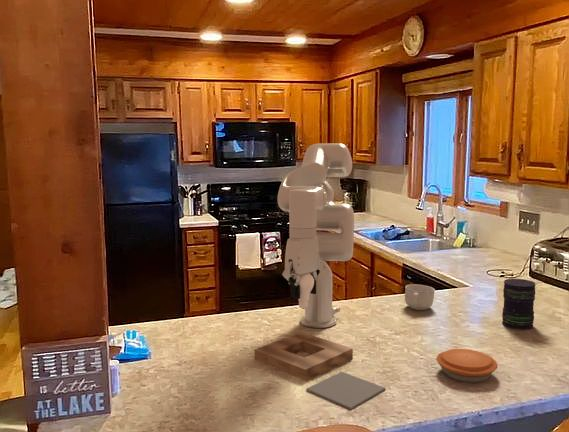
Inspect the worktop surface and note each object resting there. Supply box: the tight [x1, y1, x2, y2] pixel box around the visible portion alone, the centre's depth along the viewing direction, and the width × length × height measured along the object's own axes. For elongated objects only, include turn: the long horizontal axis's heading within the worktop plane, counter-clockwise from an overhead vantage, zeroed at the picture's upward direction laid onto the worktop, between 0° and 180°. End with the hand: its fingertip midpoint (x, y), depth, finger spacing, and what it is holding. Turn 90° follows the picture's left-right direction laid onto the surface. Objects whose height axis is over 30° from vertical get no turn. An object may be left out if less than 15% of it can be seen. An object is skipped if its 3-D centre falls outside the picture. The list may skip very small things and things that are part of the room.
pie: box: [436, 348, 499, 384], centre depth 140 cm, size 15×16×5 cm
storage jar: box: [501, 278, 536, 331], centre depth 177 cm, size 10×10×15 cm
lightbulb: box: [294, 273, 314, 310], centre depth 149 cm, size 6×6×11 cm
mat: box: [306, 371, 386, 410], centre depth 131 cm, size 14×14×1 cm
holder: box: [253, 331, 354, 381], centre depth 151 cm, size 20×20×3 cm
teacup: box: [404, 283, 436, 311], centre depth 196 cm, size 14×11×8 cm
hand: (303, 295), depth 149 cm, fingers closed on lightbulb, 6 cm apart
